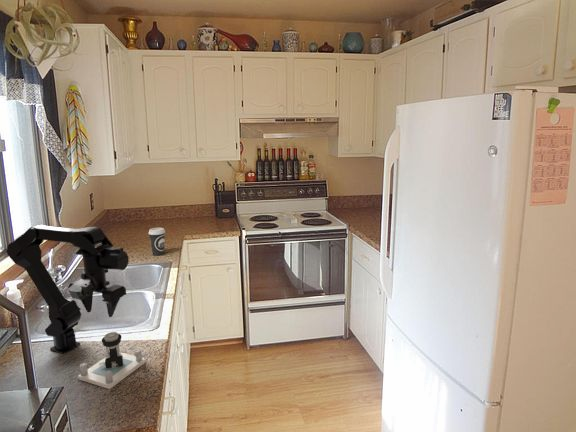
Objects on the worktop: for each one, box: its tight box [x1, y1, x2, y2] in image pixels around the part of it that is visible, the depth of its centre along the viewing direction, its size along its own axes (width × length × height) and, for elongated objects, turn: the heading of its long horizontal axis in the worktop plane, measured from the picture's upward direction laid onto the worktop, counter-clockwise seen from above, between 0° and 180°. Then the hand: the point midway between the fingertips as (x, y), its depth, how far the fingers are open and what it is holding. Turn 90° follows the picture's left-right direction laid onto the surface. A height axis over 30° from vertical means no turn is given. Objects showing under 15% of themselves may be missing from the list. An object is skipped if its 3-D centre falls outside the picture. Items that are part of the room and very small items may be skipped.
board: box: [77, 346, 146, 390], centre depth 118 cm, size 12×14×4 cm
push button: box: [99, 331, 123, 368], centre depth 117 cm, size 7×5×10 cm
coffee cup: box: [147, 227, 166, 257], centre depth 229 cm, size 10×10×15 cm
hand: (99, 314), depth 126 cm, fingers open, 9 cm apart
